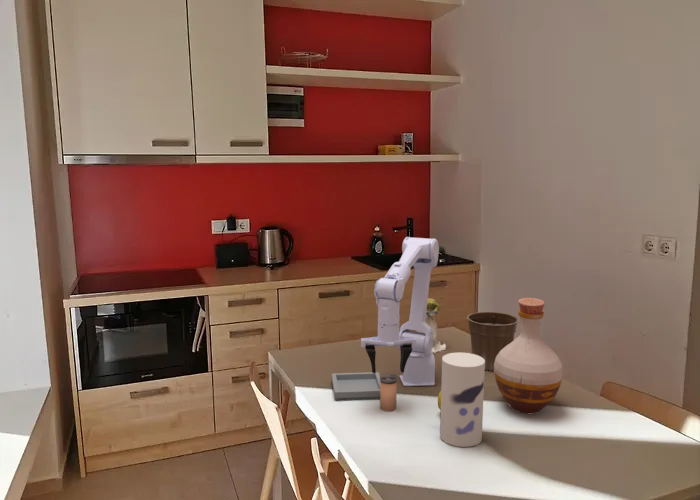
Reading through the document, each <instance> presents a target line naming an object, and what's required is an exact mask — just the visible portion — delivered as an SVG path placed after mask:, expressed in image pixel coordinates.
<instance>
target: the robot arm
mask: <svg viewBox="0 0 700 500" xmlns="http://www.w3.org/2000/svg"><path fill="white" fill-rule="evenodd" d="M401 245H402V246H401V251H402V255H401V257H400V258H399V260H398V261H395V262H394V263H393V264H392V265H391V266H390V268H389V269H388V270H387V273H386V274H385V276H384V277H381V278H379V279H377V280H376V282H375V284H374V290H373V293H374V298H375V305H376V306H377V336H372V337H371V336H370V337H362V338H360V347H361V348H365V351H366V353H367V356H368V358H369V361H370V364H371V365H370V366H371V372H373V373H376V372H377V371H376V369H377V368H376V353H377V351H376V348H375V347H397V348H398V350H399V351H400V363H399V371H400V373H401V374H400V375H399V379H400V380H401V382H402V385H403V386H404V387H421V386H422V387H423V386H425V387H426V386H427V387H428V386H435V385H436V383H435V382H436V381H435V378H436V377H435V375H436V374H435V373H436V372H435V371H436V361H435V360H436V359H435V354H434V352H433V353H431V351H432V348H433V330H432V328H431V327H430V326H429V325H428V324H427V323H426V322H425V318H426V309H427V301H428V298H429V291H430V290H429V289H430V281H431V275H432V270H433V268H435V267H437V265H438V262H439V252H440V246H439V242H438V239H436V238H424V237H412V236H411V237H410V236H406V237H405V238H403V241H402V244H401ZM412 267H413V268H414V275H413V277H414V278H413V286H412V293H411V302H410V311H409V319H408V321H406V322H405V323H402V324H401V326H400V308H401V307H400V303H401V300H402V299H403V297H404V291H405V288H406V286H405V285H406V283H407V282H408V280H409V278H410V276H411V274H412V271H411V268H412ZM416 331H422V332H424V333H419V332H416Z"/></svg>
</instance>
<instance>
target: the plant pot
mask: <svg viewBox="0 0 700 500" xmlns="http://www.w3.org/2000/svg"><path fill="white" fill-rule="evenodd" d="M466 319H467V320H468V328H469V332H470V342H471V343H470V344H471V354H475V355H478V356H480V357H482V358H483V359H484V360H485V371H488V370H489V371H490V372H491V371H492V372H494V362H495V359H496V356H497V355H498V353H499V352H500V351H501V350H502V349H503V348H504V347H506V346H507V345H508V344H510V343H511V342H512V341H514V340H515V333H516V330H517V325H518V323H519V318H518V317H517V316H515V315H513V314H509V313H505V312H499V311H498V312H497V311H478V312H472V313H469V314H467V316H466ZM489 371H488V372H489Z"/></svg>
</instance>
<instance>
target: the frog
mask: <svg viewBox="0 0 700 500" xmlns="http://www.w3.org/2000/svg"><path fill="white" fill-rule="evenodd" d="M439 311H440V304H438V302H437V300H435V299H434V298H430V297H428V301H427V309H426V318H425V322H426V323H427V324H428V325H429V326H430V327H431V328H432V330H433V348H432V351H431V353H433V355H436V353H437V352H442V351H441V350H447V345H446V342H445V341H444V342H443V343H442V344H441V341H439V340H437V335H438V324H437V322H436V321H437V320H436V319H435V317H434V316H437V315H438V314H439ZM415 332H419V333H424V332H422V331H416V330H415Z"/></svg>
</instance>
